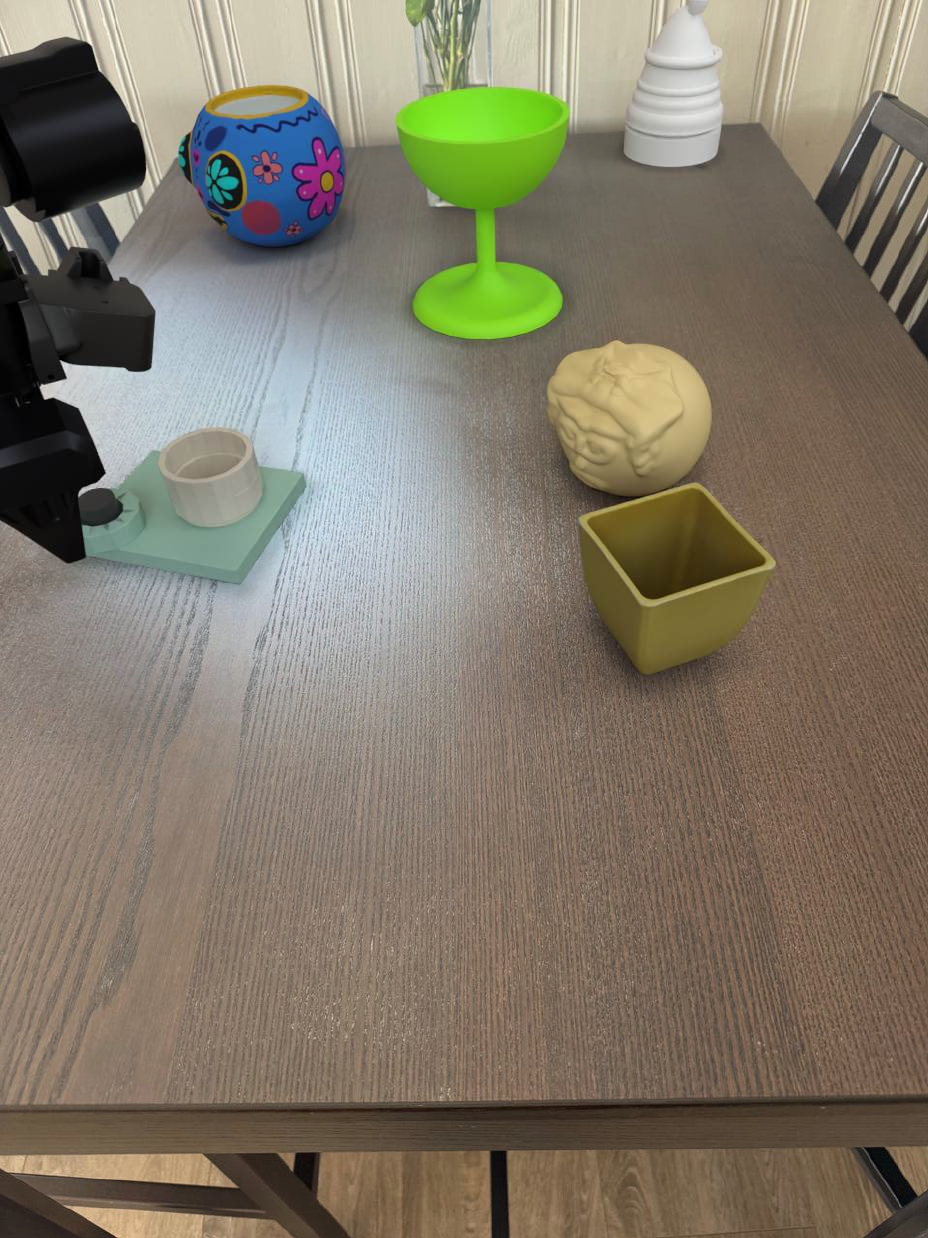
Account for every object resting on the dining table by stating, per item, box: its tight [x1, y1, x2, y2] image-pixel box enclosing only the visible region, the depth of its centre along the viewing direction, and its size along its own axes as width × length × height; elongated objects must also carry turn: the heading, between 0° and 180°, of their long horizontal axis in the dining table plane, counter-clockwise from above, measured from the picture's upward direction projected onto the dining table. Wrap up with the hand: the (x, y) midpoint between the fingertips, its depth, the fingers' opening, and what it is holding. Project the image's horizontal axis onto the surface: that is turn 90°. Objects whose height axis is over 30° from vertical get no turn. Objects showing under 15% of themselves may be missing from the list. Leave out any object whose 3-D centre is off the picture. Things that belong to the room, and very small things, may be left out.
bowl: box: [157, 426, 263, 527], centre depth 67 cm, size 7×7×4 cm
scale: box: [81, 449, 307, 585], centre depth 68 cm, size 15×13×3 cm
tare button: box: [78, 487, 121, 527], centre depth 65 cm, size 3×3×2 cm
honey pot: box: [623, 0, 725, 168], centre depth 114 cm, size 13×13×18 cm
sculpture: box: [546, 339, 713, 498], centre depth 67 cm, size 12×12×11 cm
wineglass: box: [394, 86, 571, 340], centre depth 86 cm, size 16×16×18 cm
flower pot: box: [577, 482, 777, 676], centre depth 55 cm, size 9×9×9 cm
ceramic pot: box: [177, 84, 347, 247], centre depth 101 cm, size 18×18×15 cm
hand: (60, 515), depth 52 cm, fingers open, 9 cm apart
